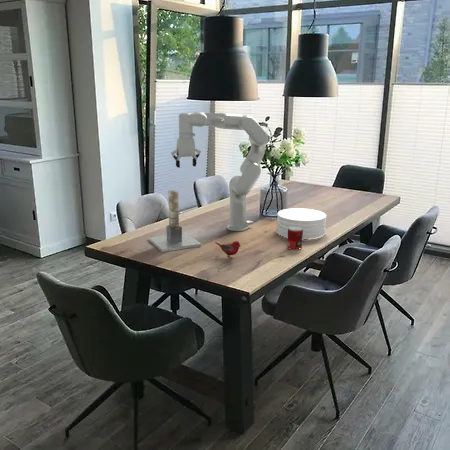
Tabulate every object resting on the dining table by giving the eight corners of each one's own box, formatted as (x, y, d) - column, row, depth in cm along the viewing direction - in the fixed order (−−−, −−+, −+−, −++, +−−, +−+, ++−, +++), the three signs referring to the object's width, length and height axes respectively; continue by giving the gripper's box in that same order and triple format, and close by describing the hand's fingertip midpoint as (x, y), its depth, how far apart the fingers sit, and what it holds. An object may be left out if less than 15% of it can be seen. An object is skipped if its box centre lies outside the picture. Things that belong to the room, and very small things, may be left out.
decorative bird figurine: (238, 262, 244) (238, 242, 241) (212, 253, 255) (212, 235, 252) (242, 260, 246) (242, 241, 243) (216, 252, 257) (216, 233, 254)
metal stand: (185, 235, 285) (185, 219, 282) (201, 246, 266) (201, 229, 264) (148, 240, 276) (147, 223, 273) (161, 252, 257) (161, 234, 254)
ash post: (176, 226, 271) (175, 190, 265) (179, 228, 268) (178, 191, 262) (169, 227, 269) (168, 190, 264) (171, 229, 266) (171, 192, 260)
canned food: (298, 251, 260) (299, 231, 257) (284, 248, 264) (285, 228, 261) (304, 247, 267) (305, 227, 263) (290, 244, 271) (291, 225, 267)
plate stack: (331, 230, 297) (332, 211, 294) (316, 243, 273) (317, 223, 270) (287, 223, 310) (288, 206, 306) (269, 235, 286) (269, 216, 283)
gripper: (197, 134, 282) (197, 164, 287) (168, 135, 275) (169, 166, 279) (203, 136, 276) (203, 166, 280) (173, 137, 268) (174, 168, 273)
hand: (186, 166), depth 280 cm, fingers open, 9 cm apart
